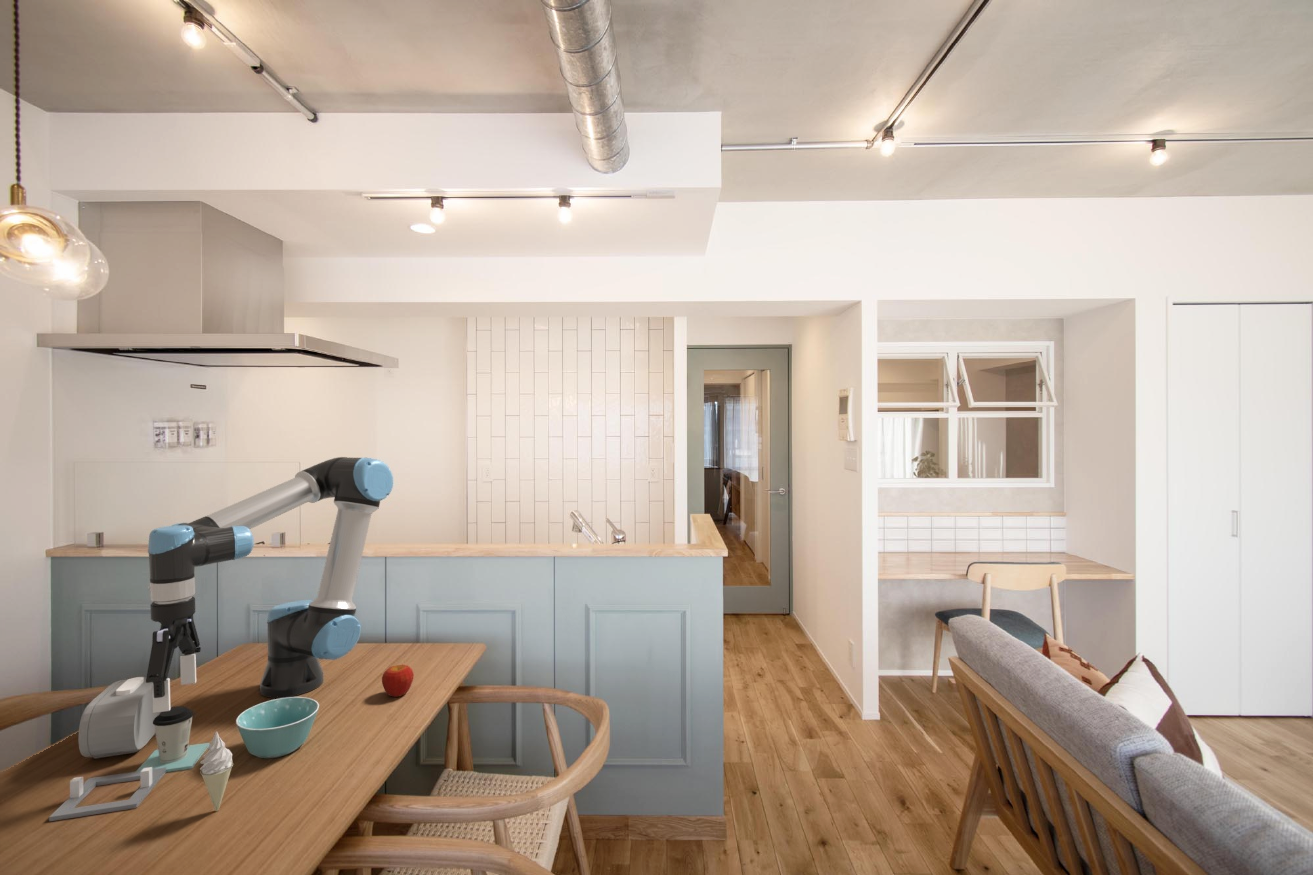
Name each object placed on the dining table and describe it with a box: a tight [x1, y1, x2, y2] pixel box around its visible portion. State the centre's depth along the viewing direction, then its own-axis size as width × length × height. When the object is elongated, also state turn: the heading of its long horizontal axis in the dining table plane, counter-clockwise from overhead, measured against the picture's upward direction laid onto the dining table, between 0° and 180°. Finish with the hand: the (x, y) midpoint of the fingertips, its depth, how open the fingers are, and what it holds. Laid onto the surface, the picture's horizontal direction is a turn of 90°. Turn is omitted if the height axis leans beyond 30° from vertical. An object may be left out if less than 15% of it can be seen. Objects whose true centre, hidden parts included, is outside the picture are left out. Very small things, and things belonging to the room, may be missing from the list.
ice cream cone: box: [199, 730, 234, 812], centre depth 114 cm, size 5×5×15 cm
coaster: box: [135, 742, 210, 773], centre depth 131 cm, size 10×10×1 cm
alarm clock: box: [78, 676, 160, 759], centre depth 138 cm, size 21×10×13 cm, turn 22°
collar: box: [48, 767, 167, 822], centre depth 119 cm, size 13×13×4 cm
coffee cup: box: [153, 705, 195, 763], centre depth 131 cm, size 7×7×10 cm
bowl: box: [235, 696, 320, 759], centre depth 137 cm, size 16×16×8 cm
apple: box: [381, 664, 415, 698], centre depth 165 cm, size 8×8×8 cm
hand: (175, 696), depth 132 cm, fingers open, 13 cm apart
